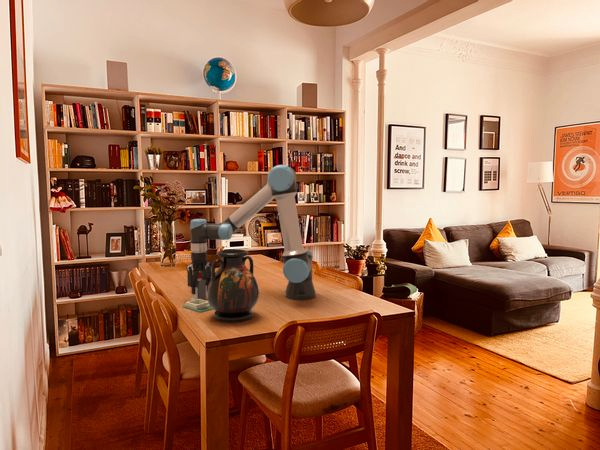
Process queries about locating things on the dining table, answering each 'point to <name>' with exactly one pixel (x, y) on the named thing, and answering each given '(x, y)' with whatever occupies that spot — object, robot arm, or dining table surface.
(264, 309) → the dining table surface
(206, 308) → the board
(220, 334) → the dining table surface
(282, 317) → the dining table surface
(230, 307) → the amphora vase
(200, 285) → the dark grey rectangular block
